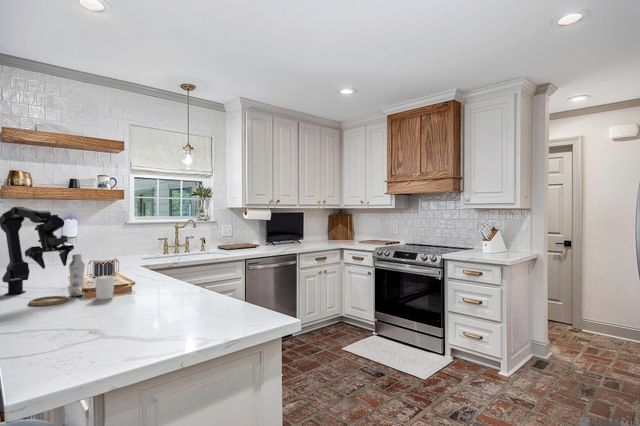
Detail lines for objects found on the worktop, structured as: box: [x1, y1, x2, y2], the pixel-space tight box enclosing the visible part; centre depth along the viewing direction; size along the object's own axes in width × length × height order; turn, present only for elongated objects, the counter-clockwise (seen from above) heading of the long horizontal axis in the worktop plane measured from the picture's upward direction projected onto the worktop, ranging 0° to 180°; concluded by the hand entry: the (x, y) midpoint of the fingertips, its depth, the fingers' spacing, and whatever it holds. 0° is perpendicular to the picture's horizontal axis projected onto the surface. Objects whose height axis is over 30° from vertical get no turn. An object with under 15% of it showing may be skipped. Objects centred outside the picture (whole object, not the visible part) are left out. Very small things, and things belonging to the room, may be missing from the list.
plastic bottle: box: [67, 254, 86, 297], centre depth 179 cm, size 6×7×20 cm
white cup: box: [94, 275, 115, 301], centre depth 175 cm, size 8×8×10 cm
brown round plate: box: [27, 295, 69, 307], centre depth 166 cm, size 14×14×1 cm
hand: (54, 267), depth 171 cm, fingers open, 9 cm apart
